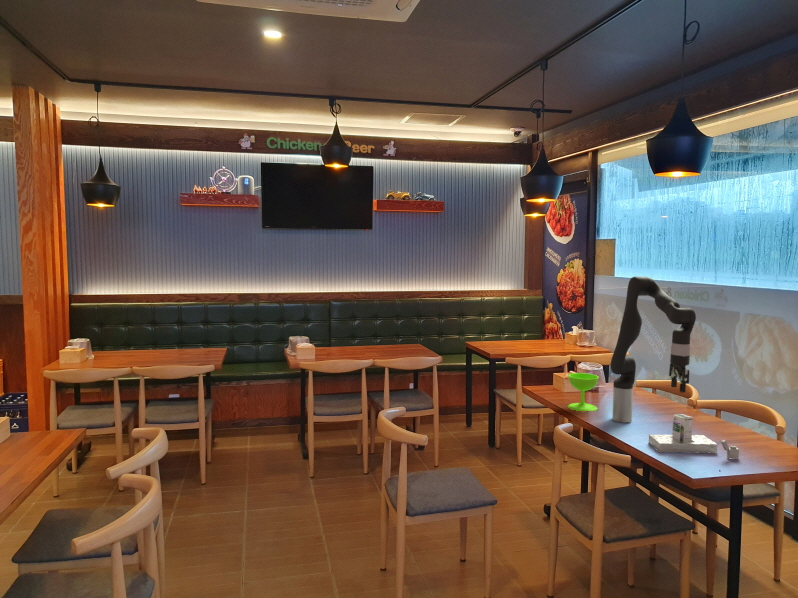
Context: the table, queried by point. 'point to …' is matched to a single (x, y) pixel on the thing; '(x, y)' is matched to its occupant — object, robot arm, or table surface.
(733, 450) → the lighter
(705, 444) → the white flat block
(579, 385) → the wineglass
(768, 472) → the table surface
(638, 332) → the robot arm
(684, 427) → the syrup box
